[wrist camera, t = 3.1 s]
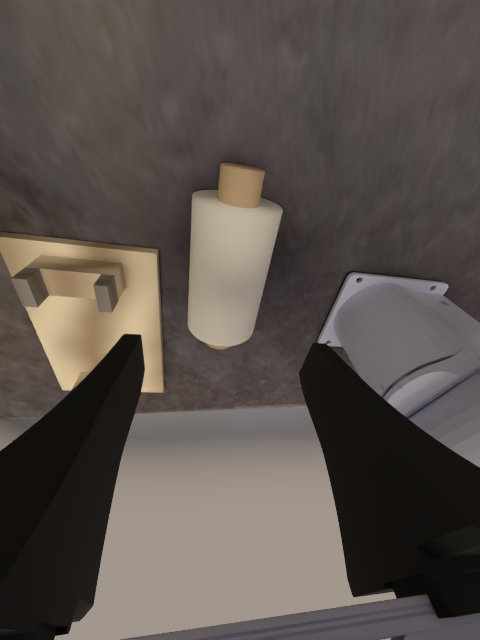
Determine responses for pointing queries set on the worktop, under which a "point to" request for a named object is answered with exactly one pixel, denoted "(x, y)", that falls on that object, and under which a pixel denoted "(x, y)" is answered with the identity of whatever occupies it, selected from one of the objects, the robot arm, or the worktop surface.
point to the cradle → (88, 301)
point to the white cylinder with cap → (230, 255)
